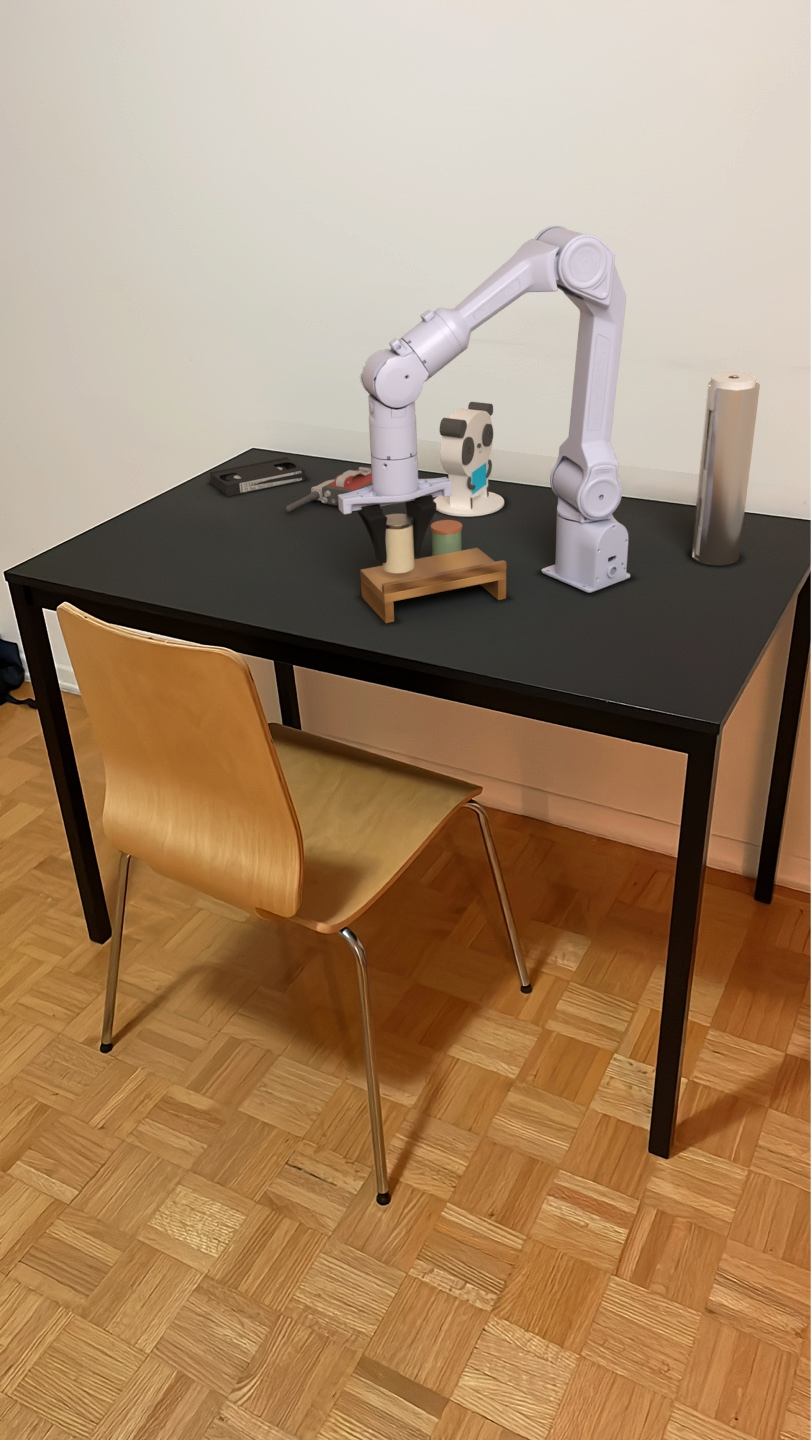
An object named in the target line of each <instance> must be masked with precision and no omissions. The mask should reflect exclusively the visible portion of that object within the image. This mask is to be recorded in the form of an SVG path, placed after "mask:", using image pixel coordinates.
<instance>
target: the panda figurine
mask: <svg viewBox="0 0 811 1440" xmlns="http://www.w3.org/2000/svg"><path fill="white" fill-rule="evenodd" d="M493 405H494V404H493V403H489V402H479V401H470V402H468V406H467V408H459V409H457V410H456V411H454V412H453V413H452V414H451V415H450V416H449V417H443V418H442V419H441V421H440V423H439V434H440V436H441V441H440V447H439V448H440V449H439V458H440V463H441V466H442V468H443V470H444V471H445V473H446V474H447V476H448V477H447V478H448V479H449V480H450V481H452V496H449V497H444V496H437V497H434V498H433V501H434V502H435V503H436V512H437V511H438V513H441V514H445V515H448V516H454V517H479V516H485V515H489V514H493V513H496V512H498V511H500V510H501V509H503V507H504V506H505V499H504V498H503V497H502V495H500V494H497V493H495V492H492V491H490V490H489V477H490V475H491V473H492V469H493V461H492V459H490V457H491V454H492V448H493V441H494V426H493V423H492V418H491V417H492V416H493V414H494V406H493Z"/></svg>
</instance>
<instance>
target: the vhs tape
mask: <svg viewBox="0 0 811 1440" xmlns="http://www.w3.org/2000/svg"><path fill="white" fill-rule="evenodd" d="M209 476H210V483H211V485H213V486H214V487H215V488H216V489H218V490H219V491H220V492H222V493H223V494H224V495H226V496H227V497H231V496H236V495H241V494H245V493H251V492H255V491H260V490H265V489H270V488H275V487H279V486H285V485H289V484H293V483H298V482H303V481H305V480H306V475H305V468H304V467H302V466H301V465H299V464H297V463H296V462H294V461H293V460H291V459H290V458H289V457H279V458H275V459H271V460H266V461H261V462H260V461H259V462H255V463H251V464H246V465H240V466H235V467H230V468H225V469H219V470H214V471H210V472H209Z"/></svg>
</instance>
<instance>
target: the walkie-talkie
mask: <svg viewBox="0 0 811 1440" xmlns="http://www.w3.org/2000/svg"><path fill="white" fill-rule="evenodd" d="M371 485H372V467H371V466H359V467H358V469H356V470H353V469H348V470H346V471H344V472H342V473H341V474H339V475H337V476H336V477H335V478H334V479H329V480H328V479H327V480H325V481H323V482H321V483H320V484H318V485H315V486H312V487H311V488H310V492H309V494H307V495H305V496H304V497H301V498H300V499H298V500H296V501H293V502H291V503H289V504H288V505H286V506H285V511H286V512H287V513H290V512H292V511H294V510H296V509H298V508H300V507H303V506H304V505H306V504H308V503H310V502H312V501H321V503H322V504H325V505H328V506H334V507H339V503H338V495H340V494H345V493H349V492H353V491H356V490H359V489H362V488H365V487H368V486H371Z"/></svg>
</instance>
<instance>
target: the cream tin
mask: <svg viewBox="0 0 811 1440" xmlns="http://www.w3.org/2000/svg"><path fill="white" fill-rule="evenodd" d="M385 516H386V517H387V524H386V538H385V540H386V553H387V561H386V563H381V564H382V565H383V569H384V570H385V571H386V572H389V573H406V572H409V571H411V570H413V569H414V559H415V556H414V539H413V523H414V519H413V517H412V516H410V515H407V513H390V514H385Z"/></svg>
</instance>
